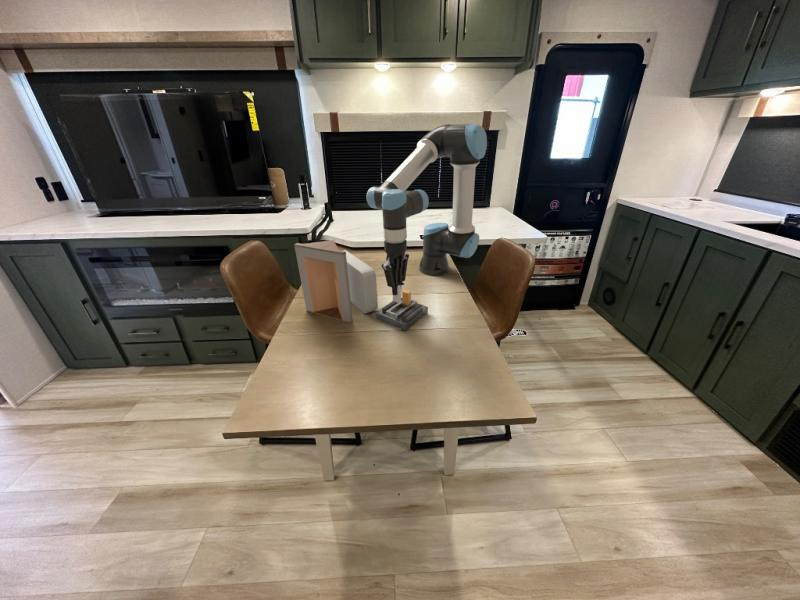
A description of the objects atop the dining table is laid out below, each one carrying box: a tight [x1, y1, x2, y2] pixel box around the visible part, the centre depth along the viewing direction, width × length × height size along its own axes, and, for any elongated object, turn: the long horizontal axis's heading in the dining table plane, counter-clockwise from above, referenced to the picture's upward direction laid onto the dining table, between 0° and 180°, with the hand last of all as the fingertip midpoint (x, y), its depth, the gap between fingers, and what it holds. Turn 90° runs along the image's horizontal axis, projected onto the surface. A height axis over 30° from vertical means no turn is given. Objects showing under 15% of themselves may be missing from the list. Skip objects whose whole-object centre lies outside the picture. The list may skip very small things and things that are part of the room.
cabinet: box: [294, 239, 354, 324], centre depth 118 cm, size 21×10×28 cm, turn 65°
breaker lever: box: [401, 289, 412, 308], centre depth 120 cm, size 3×3×6 cm
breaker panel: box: [374, 298, 429, 332], centre depth 120 cm, size 15×14×4 cm
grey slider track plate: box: [381, 297, 423, 321], centre depth 119 cm, size 11×12×1 cm
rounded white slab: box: [342, 249, 378, 314], centre depth 129 cm, size 29×8×18 cm, turn 34°
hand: (397, 301), depth 115 cm, fingers closed
